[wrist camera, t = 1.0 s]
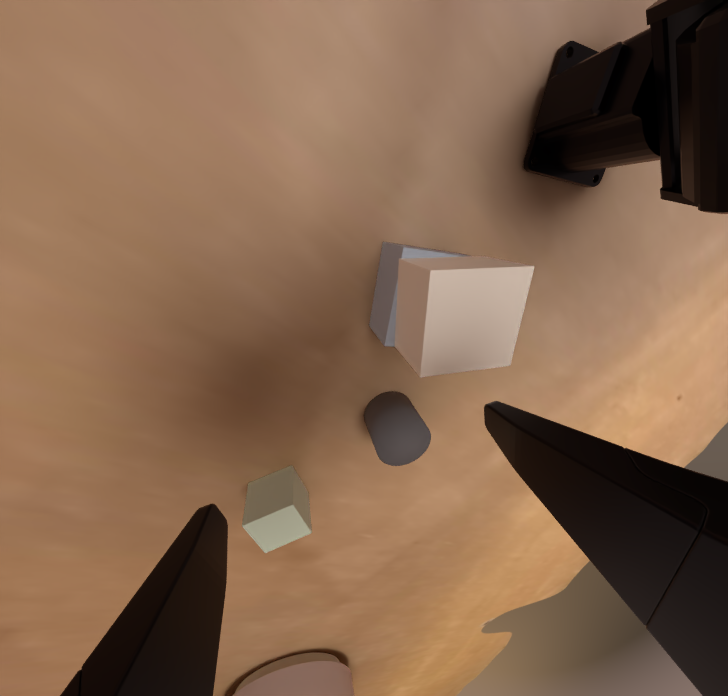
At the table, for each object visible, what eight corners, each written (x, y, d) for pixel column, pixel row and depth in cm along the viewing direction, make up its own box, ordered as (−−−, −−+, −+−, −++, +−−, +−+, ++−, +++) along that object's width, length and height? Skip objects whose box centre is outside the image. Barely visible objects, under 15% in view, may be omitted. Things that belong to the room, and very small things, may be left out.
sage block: (292, 464, 25) (292, 504, 22) (308, 491, 27) (311, 533, 24) (248, 482, 25) (241, 525, 21) (268, 508, 27) (265, 553, 23)
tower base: (458, 253, 21) (493, 260, 17) (438, 329, 23) (465, 349, 20) (382, 241, 19) (403, 247, 16) (368, 324, 22) (384, 346, 18)
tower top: (483, 255, 17) (534, 266, 14) (469, 338, 19) (510, 365, 16) (398, 258, 16) (430, 270, 12) (394, 346, 18) (420, 377, 15)
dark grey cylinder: (415, 391, 25) (436, 419, 22) (405, 430, 27) (423, 463, 23) (368, 391, 24) (382, 421, 20) (360, 433, 26) (372, 467, 22)
